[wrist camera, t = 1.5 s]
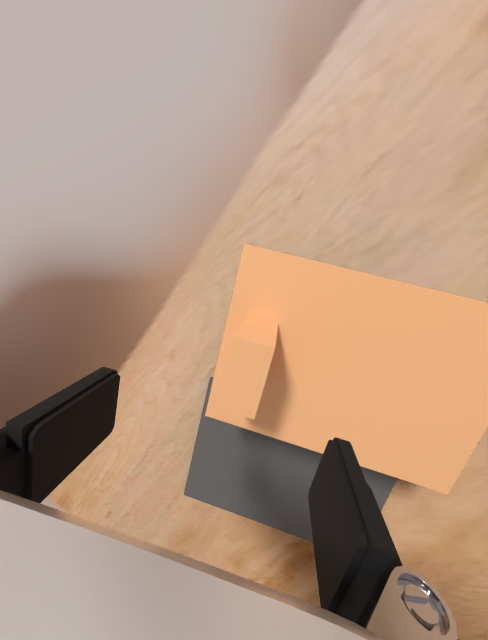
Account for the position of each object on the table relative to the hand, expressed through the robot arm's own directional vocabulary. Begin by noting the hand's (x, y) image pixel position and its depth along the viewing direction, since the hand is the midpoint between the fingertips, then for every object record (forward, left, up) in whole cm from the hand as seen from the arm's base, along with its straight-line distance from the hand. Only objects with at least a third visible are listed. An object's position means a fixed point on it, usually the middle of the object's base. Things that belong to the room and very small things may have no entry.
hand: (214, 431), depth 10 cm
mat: (-8, +19, -20) cm, 29 cm away
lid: (-8, 0, -13) cm, 16 cm away
